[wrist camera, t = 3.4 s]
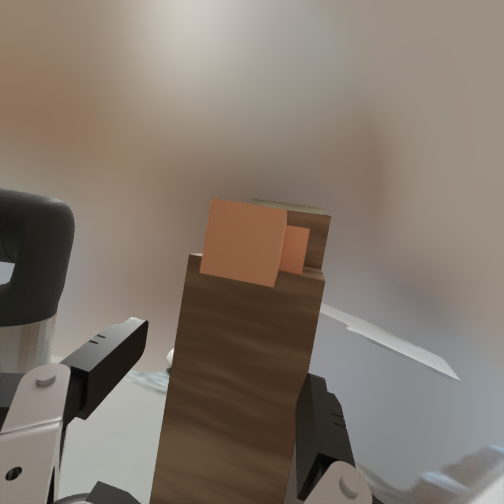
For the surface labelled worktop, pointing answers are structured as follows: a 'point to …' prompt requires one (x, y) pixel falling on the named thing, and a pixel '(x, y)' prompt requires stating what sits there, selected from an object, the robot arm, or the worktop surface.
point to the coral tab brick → (251, 243)
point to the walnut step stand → (239, 379)
